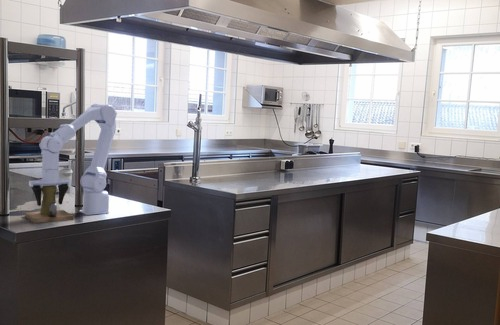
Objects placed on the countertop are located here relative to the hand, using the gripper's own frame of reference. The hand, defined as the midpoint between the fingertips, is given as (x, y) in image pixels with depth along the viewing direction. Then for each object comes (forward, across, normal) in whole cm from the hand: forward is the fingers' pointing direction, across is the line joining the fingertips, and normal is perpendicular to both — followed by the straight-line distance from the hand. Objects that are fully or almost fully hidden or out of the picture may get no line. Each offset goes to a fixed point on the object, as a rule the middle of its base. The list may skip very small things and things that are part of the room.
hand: (49, 204), depth 183 cm
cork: (+4, 0, -2) cm, 4 cm away
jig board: (+5, 0, 0) cm, 5 cm away
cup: (+5, -22, -50) cm, 55 cm away
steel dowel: (+4, 0, +4) cm, 5 cm away
